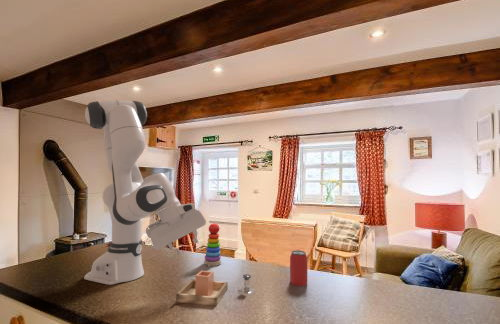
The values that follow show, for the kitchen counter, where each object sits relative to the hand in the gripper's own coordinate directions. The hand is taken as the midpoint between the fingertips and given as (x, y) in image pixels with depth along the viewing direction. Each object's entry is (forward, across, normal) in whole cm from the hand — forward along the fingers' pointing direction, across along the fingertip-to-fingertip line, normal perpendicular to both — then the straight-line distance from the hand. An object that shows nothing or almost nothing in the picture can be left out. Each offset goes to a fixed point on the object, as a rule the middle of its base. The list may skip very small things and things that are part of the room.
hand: (187, 248), depth 97 cm
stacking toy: (+17, +8, +26) cm, 32 cm away
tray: (+16, -2, -6) cm, 18 cm away
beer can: (+32, +31, -7) cm, 45 cm away
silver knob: (+23, +12, -8) cm, 27 cm away
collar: (+16, -2, -7) cm, 17 cm away
